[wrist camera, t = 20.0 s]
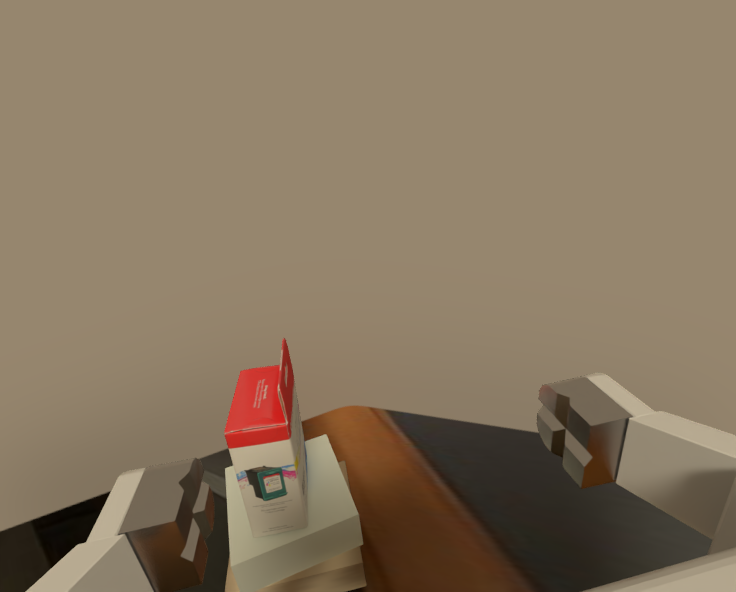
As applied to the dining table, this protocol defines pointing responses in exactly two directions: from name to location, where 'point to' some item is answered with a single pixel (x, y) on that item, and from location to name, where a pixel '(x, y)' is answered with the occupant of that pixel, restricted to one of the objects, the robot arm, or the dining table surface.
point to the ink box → (269, 448)
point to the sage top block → (301, 546)
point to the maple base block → (319, 572)
